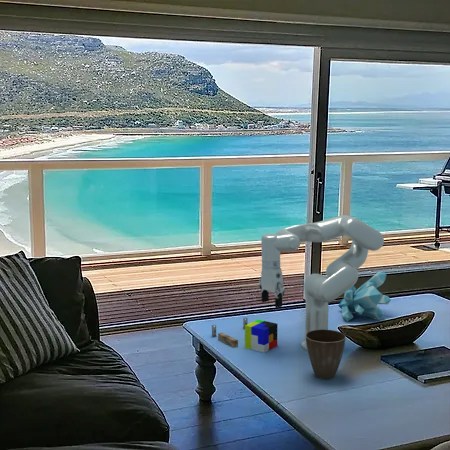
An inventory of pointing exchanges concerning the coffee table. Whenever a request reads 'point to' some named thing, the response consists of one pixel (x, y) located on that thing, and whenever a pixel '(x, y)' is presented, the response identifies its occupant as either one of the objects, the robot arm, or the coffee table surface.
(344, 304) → the crystal cluster
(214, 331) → the slate goal posts
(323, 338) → the plant pot
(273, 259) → the robot arm
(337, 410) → the coffee table surface
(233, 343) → the walnut channel
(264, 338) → the puzzle toy
